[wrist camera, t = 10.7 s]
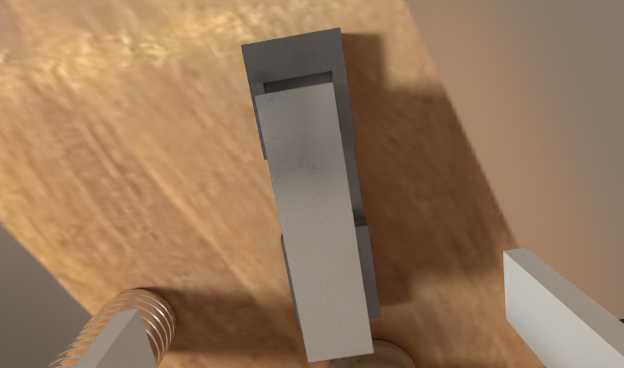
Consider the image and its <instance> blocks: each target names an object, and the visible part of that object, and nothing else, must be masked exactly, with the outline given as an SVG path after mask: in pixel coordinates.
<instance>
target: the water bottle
mask: <svg viewBox="0 0 624 368" xmlns="http://www.w3.org/2000/svg"><path fill="white" fill-rule="evenodd" d="M132 309H139V312H140V315H141V318H142V321H143V324H144V327H145V330H146V333H147V336H148V339H149V342H150V346H151V349H152V352H153V355H154V358H155V361H156V364H157V367H159V365H160V363H161V362H162V360H163V358H164V356H165V354H166V352H167V350H168V348H169V347H170V345H171V342H172V340H173V338H174V335H175V331H176V317H175V314H174V311H173V309H172V308H171V306H170V305H169V303H168V302H167V301H166V300H165V299H164V298H162V297H161V296H159V295H158V294H156V293H154V292H151V291H148V290H143V289H131V290H127V291H124V292H121V293H119V294H117V295H116V296H114V297H113V298H111V299H110V300H109V301H108V302H107V303H106V304H104V305H103V306H102V308H101V309H100V310H99V311H98V312H97V313H96V314H95V315H94V316H93V317H92V318H91V319H90V321H89V322H88V323H87V324H86V325H85V326H84V327H83V328H82V329H81V330H80V331H79V332H78V333H77V335H76V336H75V337H74V338H73V339H72V340H71V341H70V342H69V343H68V344H67V345H66V346H65V347H64V348H63V349H62V351H61V352H60V353H59V354H58V355H57V356H56V357H55V358H54V359H53V361H51V363H50V364H48V366H47V367H46V368H72V367H73V366H74V365H75V363H76V362H77V361H78V360H79V359H80V357H81V356H82V355H83V354H84V352H85V351H86V350H87V349H88V348H89V346H90V345H91V344H92V343H93V341H94V340H95V339H96V338H97V337H98V335H99V334H100V333H101V332H102V330H103V329H104V328H105V327H106V326H107V324H108V323H109V322H110V321H111V320H112V318H113V317H114V316H115V315H116V313H117V312H119V311H125V310H132Z"/></svg>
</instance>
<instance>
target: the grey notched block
mask: <svg viewBox="0 0 624 368" xmlns="http://www.w3.org/2000/svg"><path fill="white" fill-rule="evenodd" d="M255 100H256V105H257V110H258V115H259V120H260V125H261V130H262V135H263V140H264V145H265V150H266V155H267V160H268V165H269V170H270V175H271V180H272V185H273V190H274V194H275V199H276V204H277V209H278V214H279V219H280V224H281V229H282V234H283V239H284V244H285V249H286V254H287V259H288V264H289V269H290V274H291V279H292V284H293V289H294V294H295V299H296V304H297V309H298V314H299V319H300V324H301V329H302V333H303V338H304V343H305V348H306V353H307V358H308V363H309V362H316V361H323V360H329V359H336V358H343V357H349V356H356V355H363V354H370V353H374V351H373V345H372V338H371V331H370V325H369V318H368V312H367V305H366V298H365V292H364V285H363V278H362V272H361V265H360V259H359V252H358V245H357V239H356V232H355V226H354V219H353V212H352V206H351V199H350V192H349V186H348V179H347V173H346V166H345V159H344V153H343V146H342V139H341V133H340V126H339V120H338V113H337V106H336V100H335V93H334V87H333V83H323V84H318V85H312V86H306V87H301V88H295V89H289V90H283V91H278V92H272V93H267V94H262V95H258V96H255Z"/></svg>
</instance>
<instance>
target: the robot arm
mask: <svg viewBox="0 0 624 368" xmlns="http://www.w3.org/2000/svg"><path fill="white" fill-rule="evenodd" d="M503 258H504V280H505V303H506V319H507V321H508V322H509V323H510V324H511V325H512V327H513V328H514V329H515V330H516V331H517V333H518V334H519V335H520V336H521V338H522V339H523V340H524V341H525V342H526V344H527V345H528V346H529V347H530V348H531V350H532V351H533V352H534V353H535V354H536V356H537V357H538V358H539V359H540V360H541V362H542V363H543V364H544V365H545V367H546V368H624V319H620V320H618V319H617V318H615V317H614V316H613V315H612V314H610V313H609V312H608V311H607V310H605V309H604V308H603V307H601V306H600V305H599V304H598V303H596V302H595V301H594V300H592V299H591V298H590V297H588V296H587V295H586V294H585V293H583V292H582V291H581V290H579V289H578V288H577V287H576V286H574V285H573V284H572V283H570V282H569V281H568V280H567V279H565V278H564V277H563V276H561V275H560V274H559V273H557V272H556V271H555V270H554V269H552V268H551V267H550V266H548V265H547V264H546V263H545V262H543V261H542V260H541V259H539V258H538V257H537V256H535V255H534V254H533V253H532V252H530V251H529V250H528V249H526V248H519V249H513V250H506V251H503ZM72 368H158V367H157V364H156V361H155V358H154V355H153V352H152V349H151V346H150V342H149V339H148V336H147V333H146V330H145V327H144V324H143V321H142V318H141V315H140V312H139V309H132V310H125V311H119V312H117V313H116V315H115V316H114V317H113V318H112V320H111V321H110V322H109V323H108V324H107V326H106V327H105V328H104V329H103V330H102V332H101V333H100V334H99V335H98V337H97V338H96V339H95V340H94V341H93V343H92V344H91V345H90V346H89V348H88V349H87V350H86V351H85V352H84V354H83V355H82V356H81V357H80V359H79V360H78V361H77V362H76V363H75V365H74V366H73V367H72Z"/></svg>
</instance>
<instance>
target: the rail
mask: <svg viewBox="0 0 624 368" xmlns="http://www.w3.org/2000/svg"><path fill="white" fill-rule="evenodd" d="M241 48H242V53H243V58H244V63H245V67H246V72H247V77H248V82H249V87H250V92H251V97H252V102H253V107H254V112H255V117H256V121H257V126H258V131H259V136H260V141H261V146H262V151H263V156H264V160H266V159H267V155H266V150H265V145H264V140H263V135H262V130H261V125H260V120H259V115H258V110H257V105H256V100H255V96H258V95H262V94H267V93H272V92H278V91H283V90H289V89H295V88H301V87H306V86H312V85H318V84H323V83H333V87H334V93H335V100H336V106H337V113H338V120H339V126H340V133H341V139H342V146H343V153H344V159H345V166H346V173H347V179H348V186H349V192H350V199H351V206H352V212H353V219H354V226H355V232H356V239H357V245H358V252H359V259H360V265H361V272H362V278H363V285H364V292H365V298H366V305H367V312H368V318H369V319H370V318H376V317H381V313H380V306H379V299H378V292H377V285H376V277H375V270H374V263H373V256H372V249H371V242H370V235H369V228H368V224H367V221H366V219H365V217H364V212H363V205H362V198H361V191H360V184H359V177H358V170H357V163H356V156H355V149H354V145H355V144H357V143H356V136H355V129H354V122H353V115H352V108H351V101H350V94H349V87H348V80H347V73H346V66H345V59H344V52H343V45H342V38H341V31H340V28H334V29H329V30H323V31H318V32H312V33H306V34H301V35H295V36H290V37H284V38H279V39H273V40H268V41H262V42H256V43H251V44H245V45H241ZM281 244H282V249H283V254H284V259H285V264H286V269H287V274H288V279H289V284H290V289H291V293H292V298H293V303H294V308H295V313H296V318H297V323H298V328H299V329H301V324H300V319H299V314H298V309H297V304H296V299H295V294H294V289H293V284H292V279H291V274H290V269H289V264H288V259H287V254H286V249H285V244H284V239H283V234H281Z"/></svg>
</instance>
